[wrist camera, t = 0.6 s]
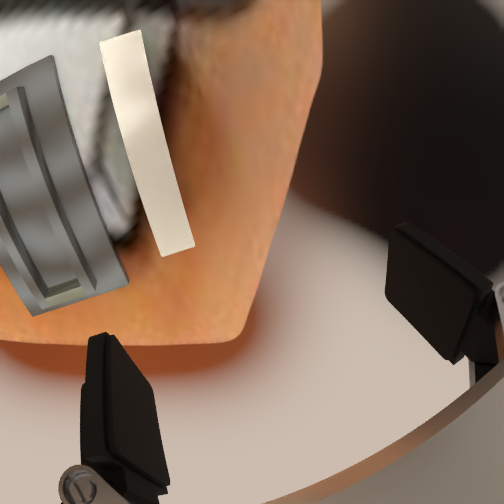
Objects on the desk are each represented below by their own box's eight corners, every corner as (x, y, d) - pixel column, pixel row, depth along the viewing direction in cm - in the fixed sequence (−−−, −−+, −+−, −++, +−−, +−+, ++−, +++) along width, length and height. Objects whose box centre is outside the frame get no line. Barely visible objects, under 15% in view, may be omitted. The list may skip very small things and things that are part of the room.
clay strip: (111, 53, 23) (99, 42, 16) (142, 44, 23) (140, 29, 17) (156, 219, 33) (161, 257, 26) (183, 210, 33) (195, 246, 26)
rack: (-53, 118, 18) (-67, 122, 15) (53, 56, 20) (44, 53, 18) (34, 311, 32) (29, 327, 30) (129, 279, 35) (129, 295, 32)
